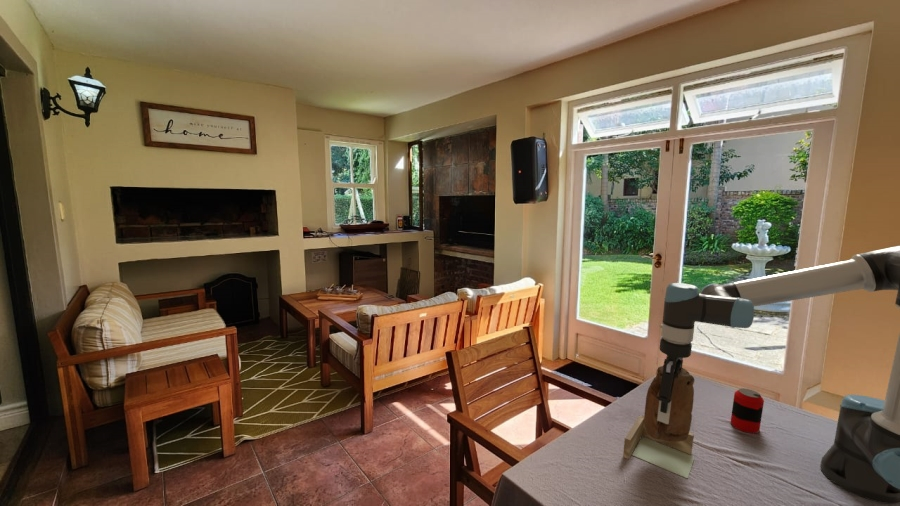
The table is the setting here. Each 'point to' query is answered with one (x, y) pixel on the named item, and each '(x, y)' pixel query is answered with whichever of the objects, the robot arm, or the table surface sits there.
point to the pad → (664, 457)
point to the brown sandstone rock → (679, 408)
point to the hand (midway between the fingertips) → (667, 412)
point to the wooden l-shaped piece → (640, 430)
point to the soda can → (747, 410)
